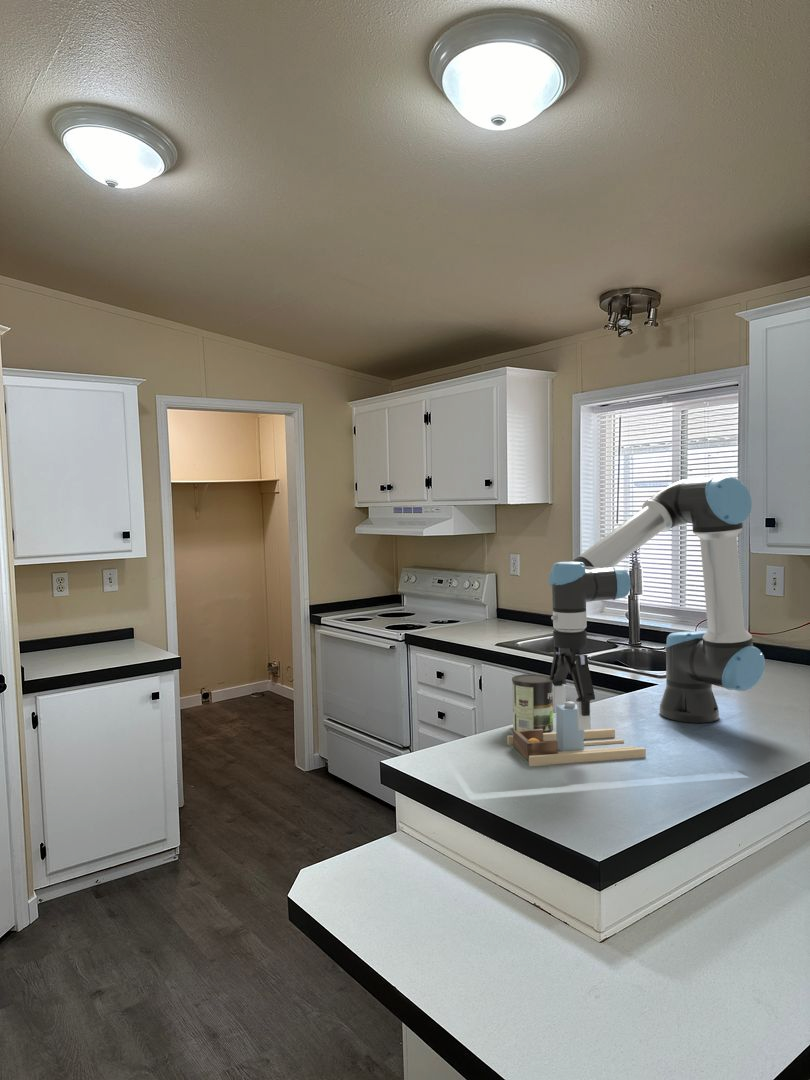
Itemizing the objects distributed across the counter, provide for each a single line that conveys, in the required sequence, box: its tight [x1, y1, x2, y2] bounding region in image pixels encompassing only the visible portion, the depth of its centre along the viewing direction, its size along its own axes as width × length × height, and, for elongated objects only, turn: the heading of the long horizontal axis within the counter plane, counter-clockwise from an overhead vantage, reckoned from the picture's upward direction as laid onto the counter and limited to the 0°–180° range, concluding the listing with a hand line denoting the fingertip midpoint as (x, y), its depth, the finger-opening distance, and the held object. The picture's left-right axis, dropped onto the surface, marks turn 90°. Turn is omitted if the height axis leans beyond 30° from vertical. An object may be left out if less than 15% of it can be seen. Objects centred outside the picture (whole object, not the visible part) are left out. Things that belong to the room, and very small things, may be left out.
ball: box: [529, 738, 540, 742], centre depth 166 cm, size 4×4×4 cm
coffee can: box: [511, 673, 554, 733], centre depth 185 cm, size 10×10×14 cm
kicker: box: [555, 700, 585, 752], centre depth 167 cm, size 5×4×11 cm
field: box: [506, 727, 647, 767], centre depth 168 cm, size 27×16×3 cm, turn 100°
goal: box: [512, 729, 559, 762], centre depth 166 cm, size 7×10×4 cm
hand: (571, 720), depth 168 cm, fingers open, 13 cm apart
